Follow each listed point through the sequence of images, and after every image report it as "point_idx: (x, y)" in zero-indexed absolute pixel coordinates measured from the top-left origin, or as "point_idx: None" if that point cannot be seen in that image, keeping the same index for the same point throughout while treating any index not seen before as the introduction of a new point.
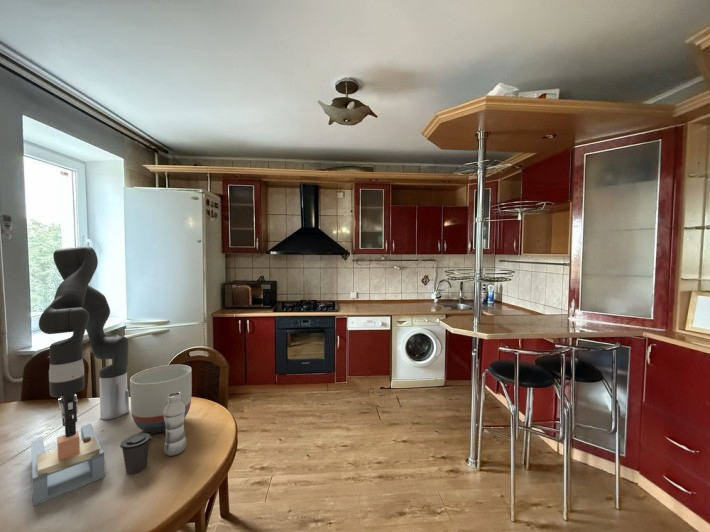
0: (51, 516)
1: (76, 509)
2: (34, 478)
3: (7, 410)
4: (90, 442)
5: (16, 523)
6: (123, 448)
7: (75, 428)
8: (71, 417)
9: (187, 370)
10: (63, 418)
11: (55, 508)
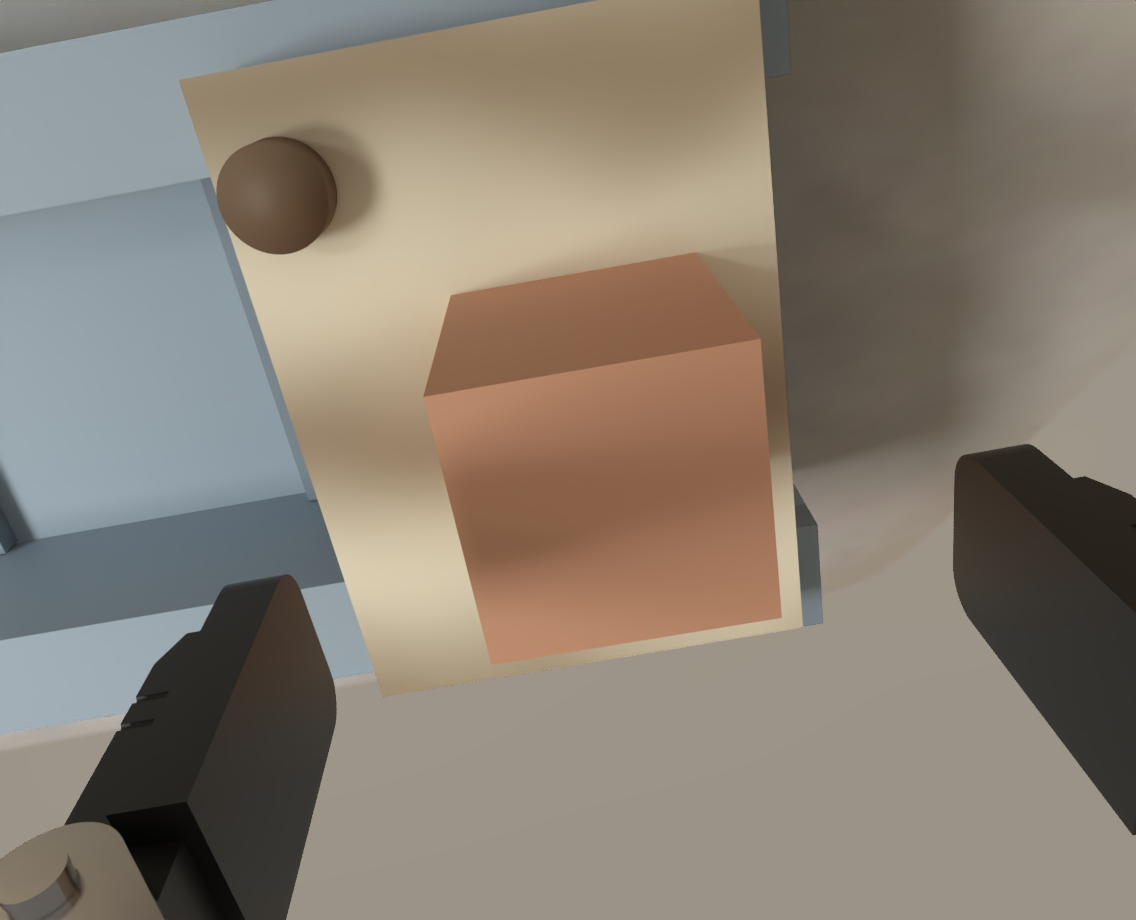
0: (1024, 341)
1: (1098, 169)
2: (819, 608)
3: None
4: (389, 130)
5: (905, 537)
6: None
7: (1099, 513)
8: (249, 689)
9: None
10: (293, 847)
11: (929, 330)
